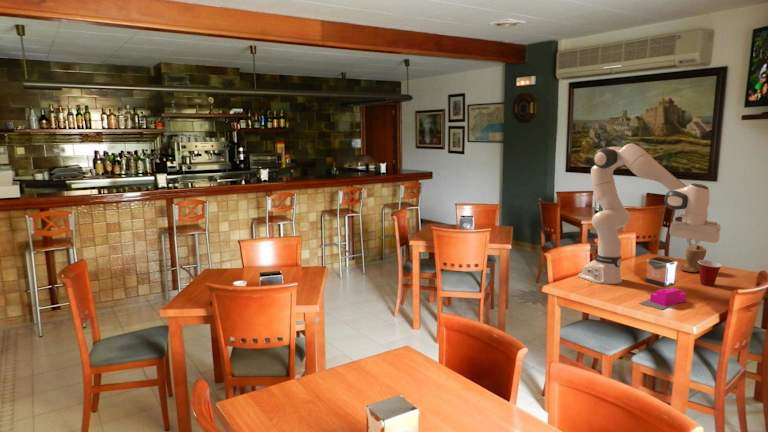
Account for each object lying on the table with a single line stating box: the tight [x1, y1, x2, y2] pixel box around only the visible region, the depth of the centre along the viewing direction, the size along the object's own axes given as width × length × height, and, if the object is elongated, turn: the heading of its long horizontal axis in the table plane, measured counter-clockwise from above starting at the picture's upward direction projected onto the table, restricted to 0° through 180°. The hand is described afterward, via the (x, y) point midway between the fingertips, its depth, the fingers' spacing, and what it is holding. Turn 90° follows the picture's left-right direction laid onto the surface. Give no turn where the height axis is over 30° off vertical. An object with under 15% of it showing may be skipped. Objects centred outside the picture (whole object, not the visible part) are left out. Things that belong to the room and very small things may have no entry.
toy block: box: [649, 287, 687, 306], centre depth 237 cm, size 15×6×8 cm
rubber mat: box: [638, 298, 675, 311], centre depth 238 cm, size 10×24×1 cm, turn 127°
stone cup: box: [678, 244, 707, 273], centre depth 287 cm, size 15×12×15 cm
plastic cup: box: [698, 259, 723, 287], centre depth 261 cm, size 11×11×12 cm
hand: (692, 248), depth 233 cm, fingers closed
